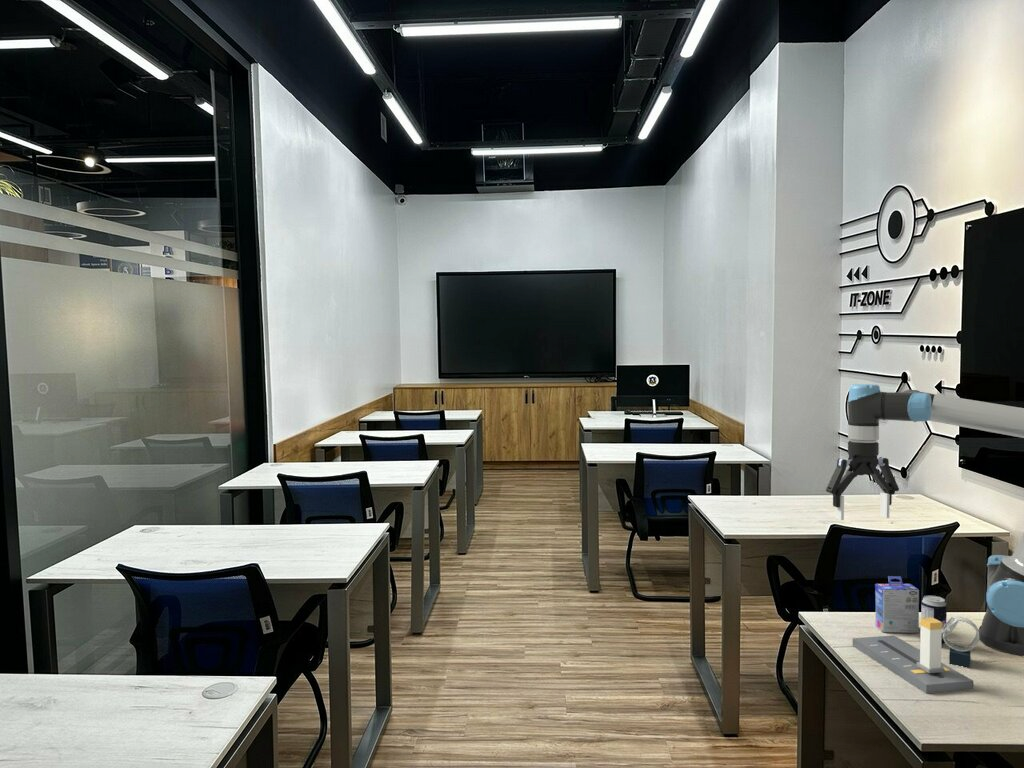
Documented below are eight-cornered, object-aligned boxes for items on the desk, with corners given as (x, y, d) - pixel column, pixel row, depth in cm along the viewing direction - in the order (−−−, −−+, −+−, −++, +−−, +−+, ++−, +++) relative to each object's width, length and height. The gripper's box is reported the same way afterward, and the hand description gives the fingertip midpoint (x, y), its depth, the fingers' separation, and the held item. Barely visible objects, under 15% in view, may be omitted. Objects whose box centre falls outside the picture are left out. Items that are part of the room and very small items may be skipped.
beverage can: (944, 649, 178) (945, 604, 178) (919, 644, 182) (920, 599, 181) (947, 642, 183) (947, 597, 183) (922, 637, 186) (923, 593, 186)
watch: (940, 654, 176) (941, 611, 175) (979, 661, 171) (980, 618, 171) (939, 662, 171) (940, 618, 171) (978, 670, 167) (979, 625, 166)
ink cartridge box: (909, 625, 194) (910, 575, 194) (920, 633, 189) (921, 581, 188) (873, 625, 195) (874, 574, 194) (882, 633, 189) (883, 581, 189)
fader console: (893, 642, 183) (893, 634, 183) (973, 689, 157) (973, 680, 157) (852, 645, 181) (852, 637, 181) (926, 693, 155) (926, 684, 155)
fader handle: (931, 664, 164) (932, 616, 164) (944, 672, 160) (945, 622, 160) (916, 665, 164) (917, 617, 163) (928, 673, 160) (929, 624, 159)
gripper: (894, 438, 194) (893, 513, 195) (813, 440, 190) (812, 516, 191) (914, 441, 186) (913, 519, 187) (829, 443, 183) (828, 523, 183)
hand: (862, 518), depth 189 cm, fingers open, 13 cm apart
